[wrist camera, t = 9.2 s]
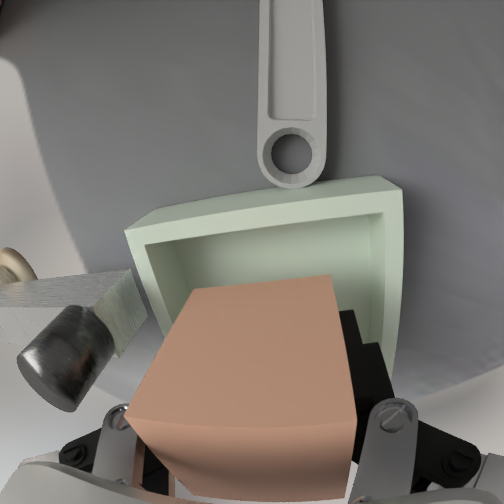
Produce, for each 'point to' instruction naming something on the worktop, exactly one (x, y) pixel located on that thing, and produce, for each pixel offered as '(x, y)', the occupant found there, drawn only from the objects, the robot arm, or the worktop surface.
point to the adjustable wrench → (292, 85)
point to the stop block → (253, 394)
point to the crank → (69, 329)
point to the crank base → (16, 265)
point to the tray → (282, 248)
